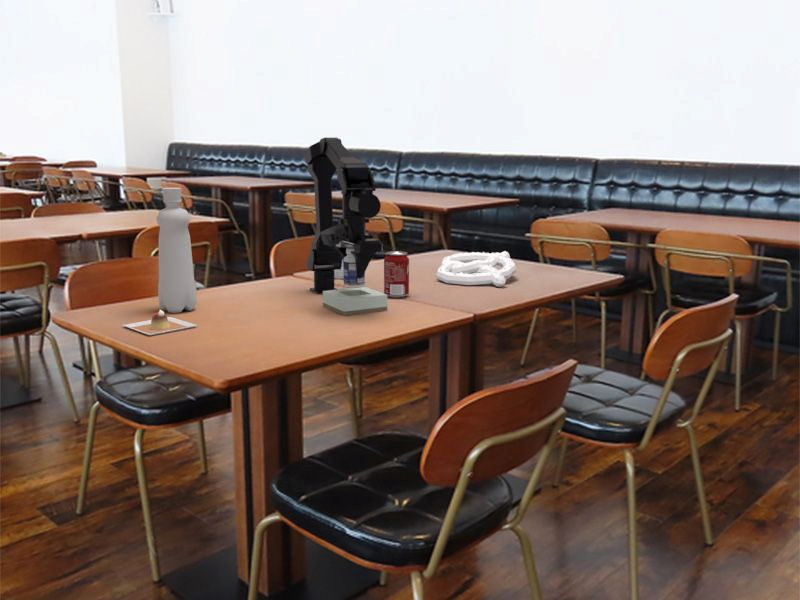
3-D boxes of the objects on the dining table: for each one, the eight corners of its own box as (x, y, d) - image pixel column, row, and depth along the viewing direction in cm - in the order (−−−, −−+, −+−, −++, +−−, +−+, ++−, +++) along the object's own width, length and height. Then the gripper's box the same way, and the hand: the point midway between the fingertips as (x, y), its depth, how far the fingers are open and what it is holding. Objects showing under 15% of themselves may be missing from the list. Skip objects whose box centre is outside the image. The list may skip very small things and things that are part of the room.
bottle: (184, 304, 198) (178, 186, 192) (204, 309, 192) (198, 188, 186) (152, 309, 192) (144, 188, 186) (171, 315, 186) (164, 190, 180)
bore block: (323, 306, 197) (322, 291, 196) (364, 301, 203) (364, 286, 202) (344, 315, 187) (344, 299, 186) (387, 310, 193) (387, 294, 192)
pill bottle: (343, 284, 196) (343, 246, 194) (364, 284, 197) (364, 246, 195) (343, 288, 191) (343, 249, 189) (365, 288, 192) (365, 249, 190)
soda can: (406, 299, 206) (406, 254, 204) (381, 298, 208) (381, 254, 205) (410, 294, 213) (411, 251, 210) (386, 293, 214) (387, 250, 212)
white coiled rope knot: (514, 293, 223) (514, 272, 220) (433, 293, 227) (432, 272, 225) (518, 265, 248) (518, 246, 246) (445, 265, 253) (445, 246, 251)
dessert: (122, 329, 174) (120, 309, 173) (170, 321, 183) (169, 301, 182) (149, 339, 166) (147, 317, 165) (197, 329, 175) (196, 309, 174)
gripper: (308, 212, 194) (309, 273, 197) (342, 219, 178) (342, 285, 182) (347, 210, 200) (348, 269, 203) (383, 217, 184) (383, 281, 187)
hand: (354, 276), depth 193 cm, fingers closed on pill bottle, 5 cm apart
